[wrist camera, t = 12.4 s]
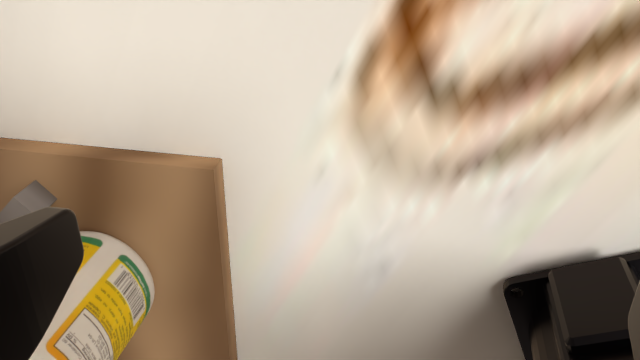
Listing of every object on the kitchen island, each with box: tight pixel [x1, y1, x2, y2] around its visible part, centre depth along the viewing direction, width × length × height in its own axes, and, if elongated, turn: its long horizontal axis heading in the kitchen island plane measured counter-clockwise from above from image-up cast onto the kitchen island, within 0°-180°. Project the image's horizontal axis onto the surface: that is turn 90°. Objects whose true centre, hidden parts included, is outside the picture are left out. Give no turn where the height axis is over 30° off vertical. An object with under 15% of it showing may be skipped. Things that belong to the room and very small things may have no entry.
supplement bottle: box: [29, 231, 155, 360], centre depth 23 cm, size 5×5×10 cm
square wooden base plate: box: [0, 138, 237, 360], centre depth 27 cm, size 12×12×2 cm
